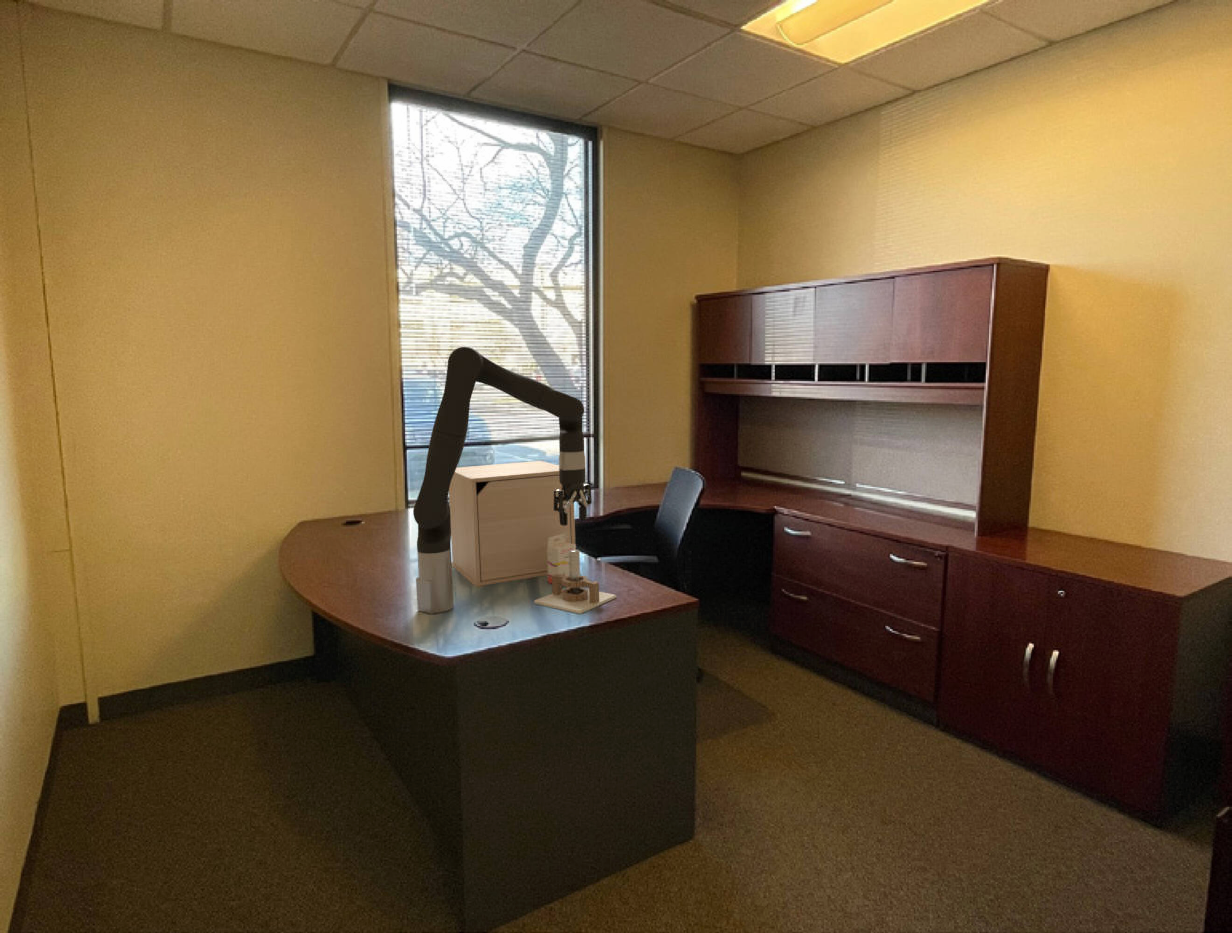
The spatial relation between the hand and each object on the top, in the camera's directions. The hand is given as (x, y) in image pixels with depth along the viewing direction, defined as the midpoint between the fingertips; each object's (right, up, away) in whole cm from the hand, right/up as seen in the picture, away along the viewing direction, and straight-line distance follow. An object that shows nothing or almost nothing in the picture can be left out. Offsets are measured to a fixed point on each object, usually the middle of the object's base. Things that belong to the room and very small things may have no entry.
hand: (573, 522), depth 208 cm
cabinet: (-23, -19, +40) cm, 50 cm away
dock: (0, -23, +3) cm, 23 cm away
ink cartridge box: (-5, -21, +23) cm, 31 cm away
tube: (0, -22, +3) cm, 22 cm away
